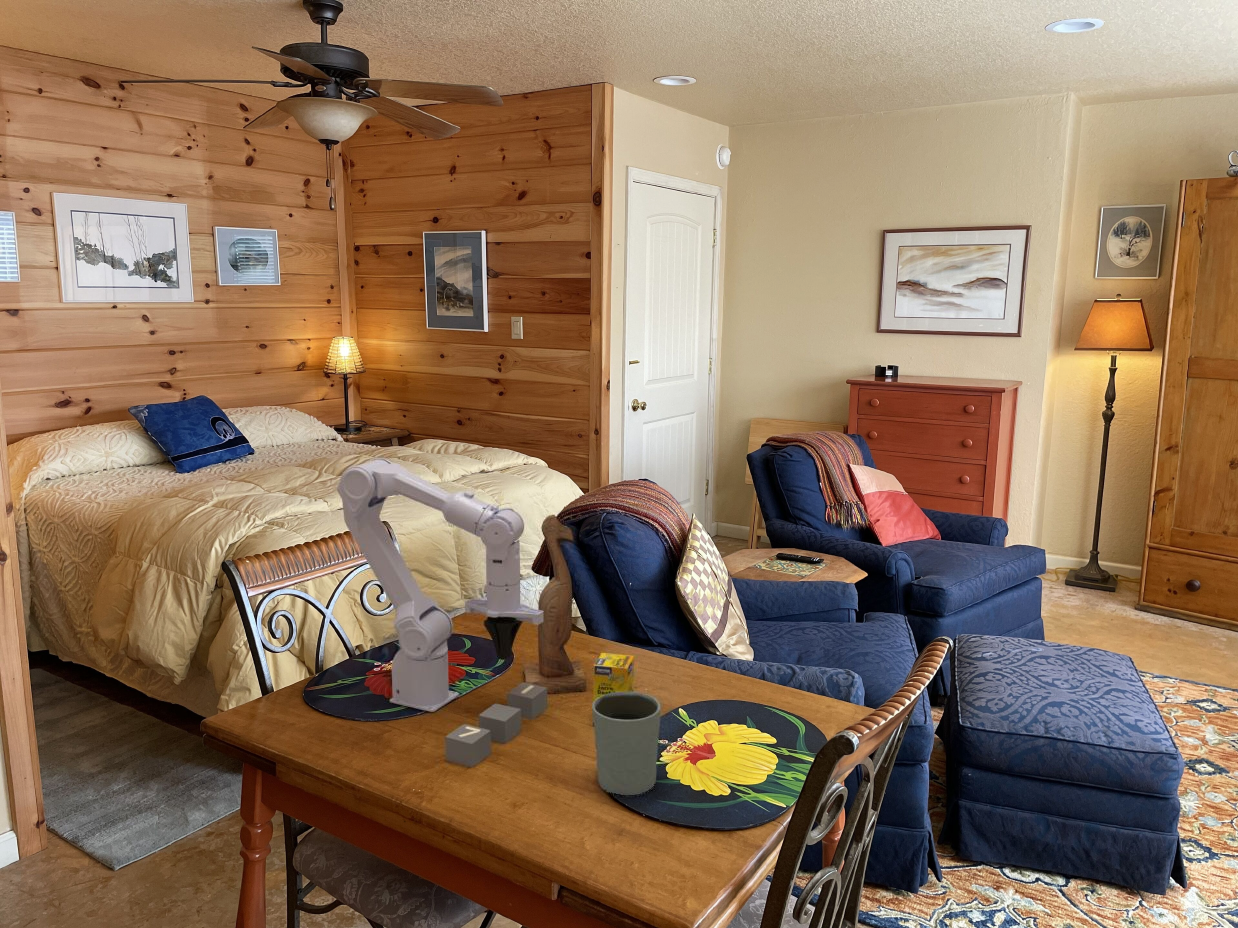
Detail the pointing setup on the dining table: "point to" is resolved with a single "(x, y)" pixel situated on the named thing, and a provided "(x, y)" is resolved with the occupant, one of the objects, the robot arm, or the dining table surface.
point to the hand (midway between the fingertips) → (504, 657)
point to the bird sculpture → (556, 621)
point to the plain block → (501, 722)
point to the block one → (528, 699)
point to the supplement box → (612, 674)
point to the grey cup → (626, 741)
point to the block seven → (468, 745)
